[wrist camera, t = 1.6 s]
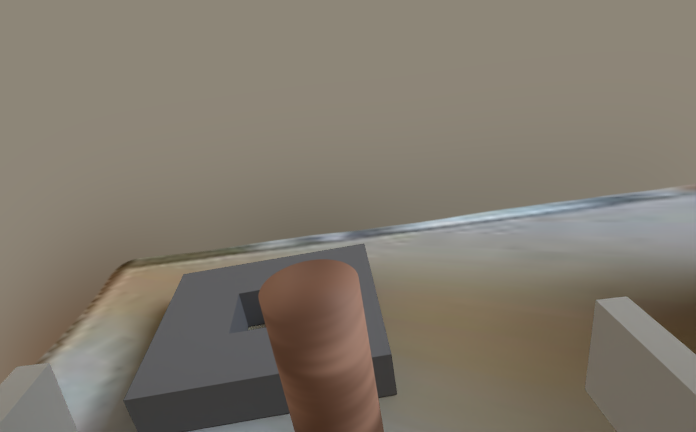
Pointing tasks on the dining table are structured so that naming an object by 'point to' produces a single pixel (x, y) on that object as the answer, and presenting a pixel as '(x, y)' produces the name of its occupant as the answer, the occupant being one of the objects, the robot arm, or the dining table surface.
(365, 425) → the peg
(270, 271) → the board
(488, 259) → the dining table surface
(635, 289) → the dining table surface
